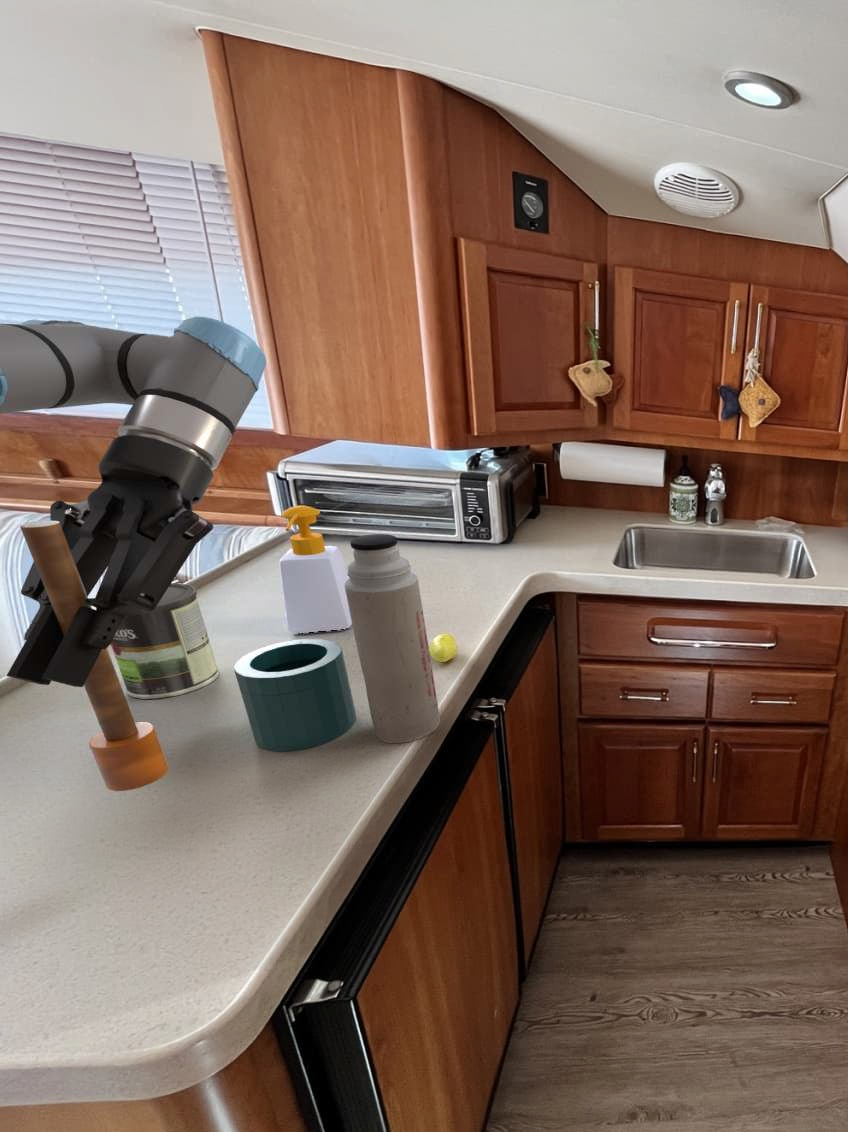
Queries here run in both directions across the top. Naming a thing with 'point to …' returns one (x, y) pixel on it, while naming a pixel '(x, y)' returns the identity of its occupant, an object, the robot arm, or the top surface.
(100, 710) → the wooden peg with base
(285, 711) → the teal ring pot
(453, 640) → the lemon
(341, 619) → the soap bottle
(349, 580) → the thermos bottle
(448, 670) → the top surface
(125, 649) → the coffee can
